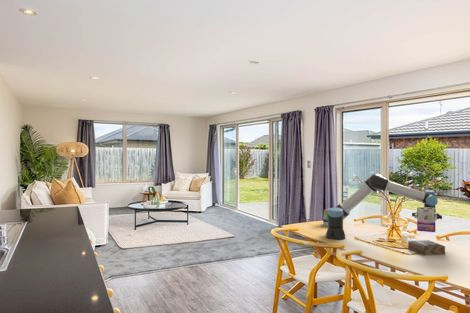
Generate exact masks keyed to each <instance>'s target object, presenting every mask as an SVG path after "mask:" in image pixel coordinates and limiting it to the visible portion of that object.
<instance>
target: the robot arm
mask: <svg viewBox="0 0 470 313" xmlns="http://www.w3.org/2000/svg"><path fill="white" fill-rule="evenodd" d="M377 191H382V192H386V191H387V192H390V193H392V194H396V195H399V196H402V197H405V198H408V199H410V200H413V201H417V202H420V203H423V207H428V208H435V222H436V221H437V220H442V219H443V215H442V214H440V213H439V212H437V210H436V205H437V204H438V202H439V200H438V198H437V197H436V191H434V190H425V191H421V190H417V189H415V188H412V187H408V186H405V185H402V184H399V183H397V182H393V181H391V180H390V179H388V178H385V176H384V175H382V174H381V173H378V172H376V173H373V174H372V175H370V177H369V178H367V179H366V180H365V181H364V184H363V185H362V186H361V187H359V188H358V189H357V190H356V191H355V192H354V193H353V194H351V196H349V197H348V198H347V199H346V200H345V201H344V202H343V203H338V204H337V205H336V206H335V207H330V209H329V208H328V209H329V210H328V226H327V230H326V233H325V237H326V239H331V240H336V241H337V240H344V239H346V233H345V230H344V220H345V219H346V218H347V217H348V216H349V215H351V212H352V210H353V209H355V208H356V207H357V206H358V205H359V204H360V203H362V202H363V201H364V200H365V199H366V198H367V197H369V196H370V195H371V194H372V193H376V192H377ZM411 217H414V219H415V220H417V211H414V212H412V213H411Z"/></svg>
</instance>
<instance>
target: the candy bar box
mask: <svg viewBox="0 0 470 313" xmlns="http://www.w3.org/2000/svg"><path fill="white" fill-rule="evenodd" d="M435 209H436V207H435V208H428V207H424V206H422V207H421V206H417V207H416V212H417V219H416V220H417V221H416V223H417V224H416V226H417V227H416V230H417V232H425V233H426V232H427V233H436V221H435V214H436V213H435Z"/></svg>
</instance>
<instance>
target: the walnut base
mask: <svg viewBox="0 0 470 313" xmlns="http://www.w3.org/2000/svg"><path fill="white" fill-rule="evenodd" d="M407 243H408V244H407V245H408V246H407V249H408V250H410V251H413V252H414V253H417V254H420V255H422V256H437V255H438V256H440V255H446V246H445V245H444V244H443V245H442V244H441V243H440V244H439V243H437V242H434V241H431V240H429V239H428V240H427V239H426V240H425V239H424V240H423V239H422V240H421V239H419V240H408V242H407Z"/></svg>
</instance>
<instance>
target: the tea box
mask: <svg viewBox="0 0 470 313" xmlns="http://www.w3.org/2000/svg"><path fill="white" fill-rule="evenodd" d="M330 208H331V207H330ZM330 208H326V209H323V212H322V213H323V216H322V218H323V219H322V220H323V221H322V222H323V223H322V225H323V226H327V227H328V210H329V209H330Z"/></svg>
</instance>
